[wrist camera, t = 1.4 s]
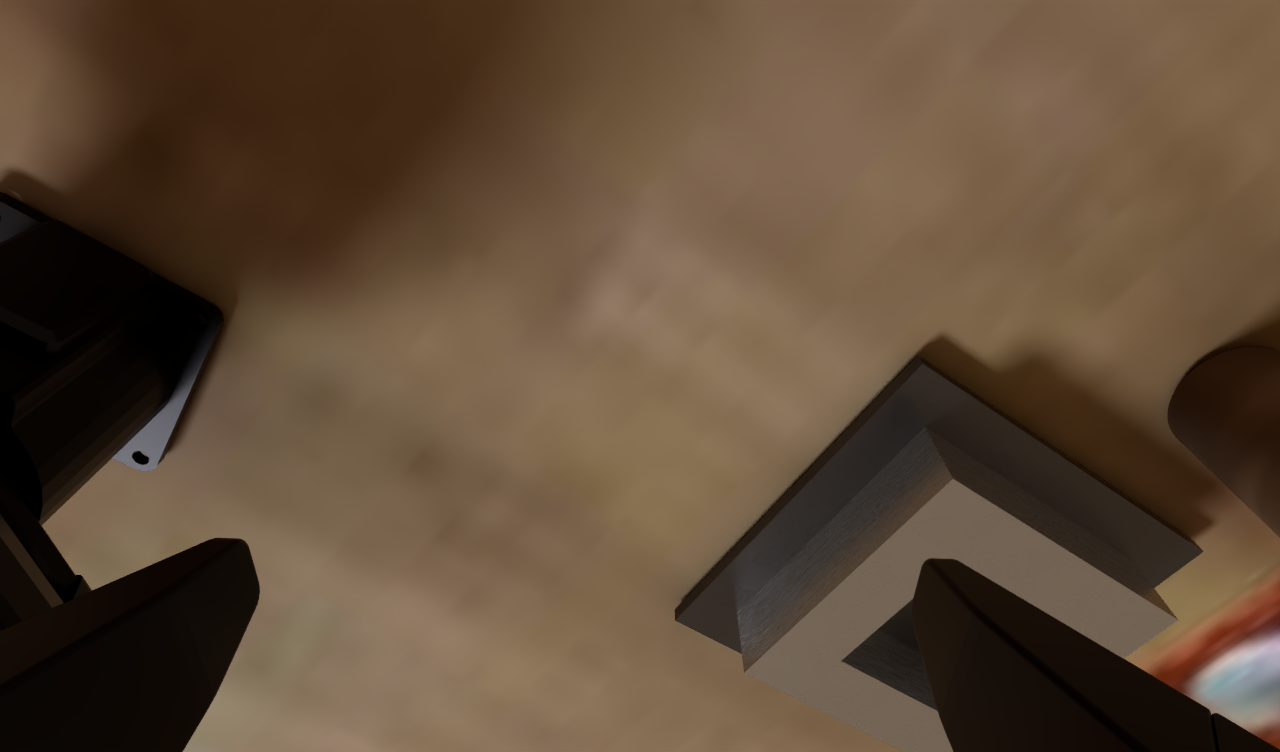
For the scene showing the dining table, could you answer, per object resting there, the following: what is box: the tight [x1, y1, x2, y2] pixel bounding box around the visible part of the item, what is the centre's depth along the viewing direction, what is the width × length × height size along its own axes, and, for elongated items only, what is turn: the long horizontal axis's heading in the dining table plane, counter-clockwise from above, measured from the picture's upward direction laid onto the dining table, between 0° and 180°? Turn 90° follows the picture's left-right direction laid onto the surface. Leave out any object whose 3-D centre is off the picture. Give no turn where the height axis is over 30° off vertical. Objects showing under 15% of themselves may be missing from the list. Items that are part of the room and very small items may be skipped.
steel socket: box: [675, 355, 1203, 752], centre depth 25 cm, size 12×12×3 cm
